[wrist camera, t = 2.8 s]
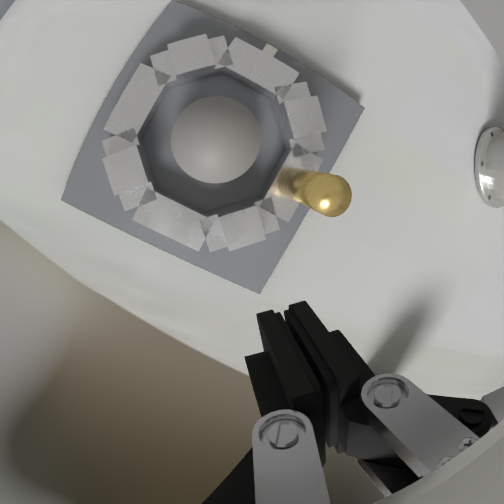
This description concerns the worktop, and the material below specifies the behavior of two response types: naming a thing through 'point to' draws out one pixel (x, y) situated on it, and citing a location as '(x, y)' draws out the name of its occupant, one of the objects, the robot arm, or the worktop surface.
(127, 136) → the ring nut
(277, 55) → the base plate
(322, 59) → the worktop surface
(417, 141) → the worktop surface
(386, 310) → the worktop surface
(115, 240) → the worktop surface
